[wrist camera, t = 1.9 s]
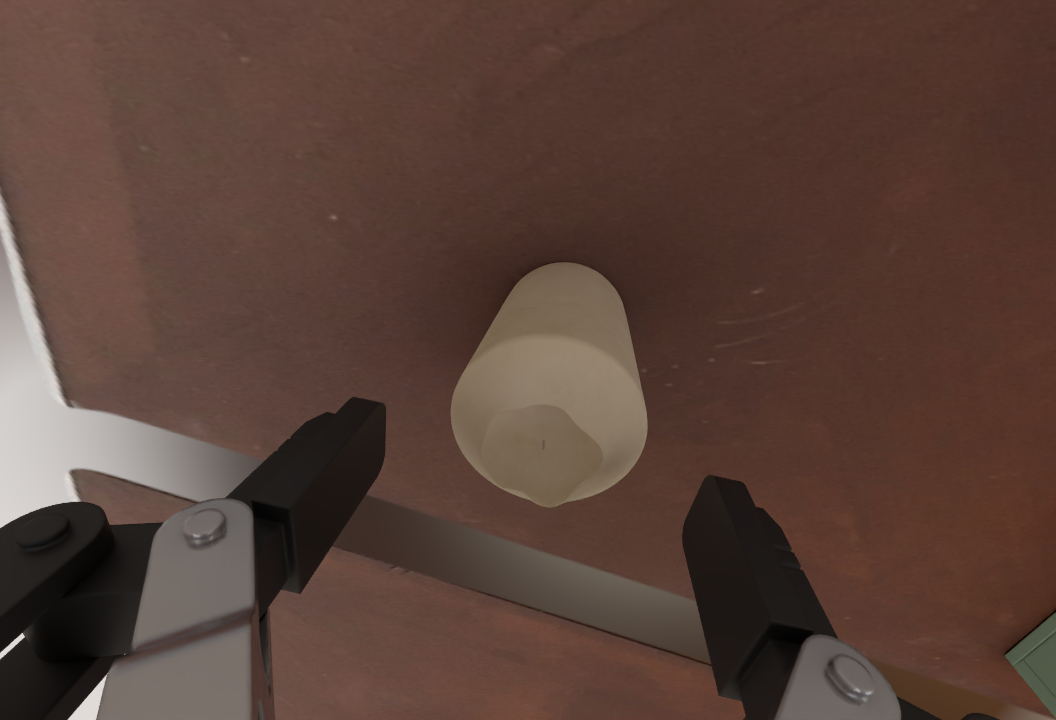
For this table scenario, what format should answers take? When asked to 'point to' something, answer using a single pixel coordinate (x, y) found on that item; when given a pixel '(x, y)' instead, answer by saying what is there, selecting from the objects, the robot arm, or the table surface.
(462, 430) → the candle
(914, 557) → the table surface
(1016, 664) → the tray
